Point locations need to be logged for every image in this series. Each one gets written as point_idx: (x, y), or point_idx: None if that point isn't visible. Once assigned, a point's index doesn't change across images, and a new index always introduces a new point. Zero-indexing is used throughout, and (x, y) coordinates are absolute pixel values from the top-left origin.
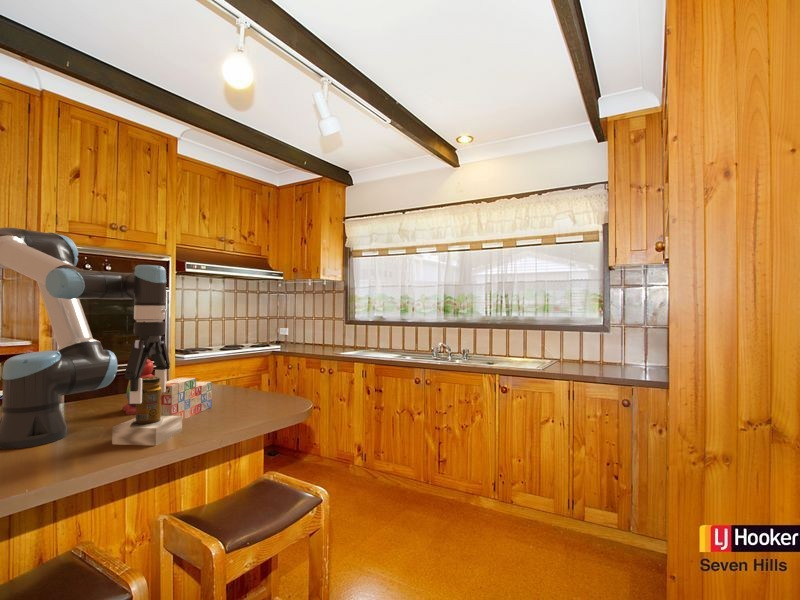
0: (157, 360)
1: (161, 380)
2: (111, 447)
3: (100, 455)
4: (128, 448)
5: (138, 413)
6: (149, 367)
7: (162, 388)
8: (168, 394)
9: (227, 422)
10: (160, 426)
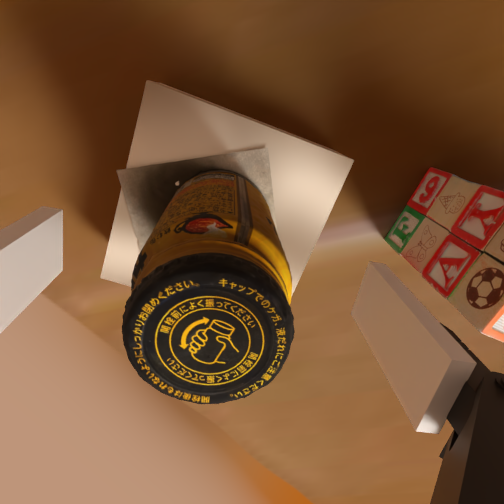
0: (444, 499)
1: (387, 344)
2: (118, 96)
3: (23, 87)
4: (98, 167)
5: (168, 204)
6: None
7: (362, 316)
8: (461, 285)
9: (336, 402)
10: (130, 285)
